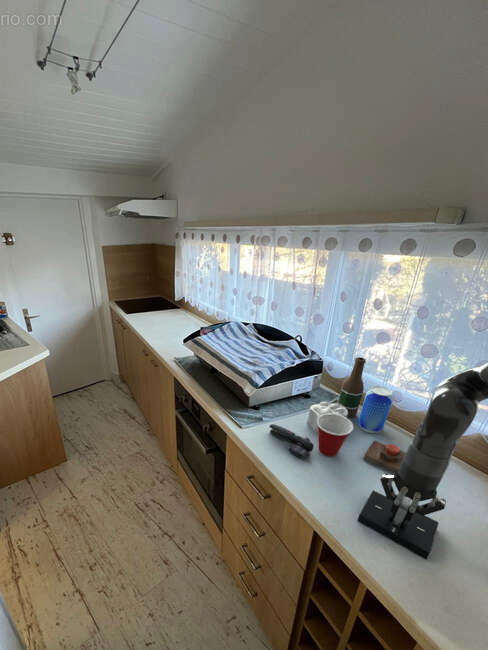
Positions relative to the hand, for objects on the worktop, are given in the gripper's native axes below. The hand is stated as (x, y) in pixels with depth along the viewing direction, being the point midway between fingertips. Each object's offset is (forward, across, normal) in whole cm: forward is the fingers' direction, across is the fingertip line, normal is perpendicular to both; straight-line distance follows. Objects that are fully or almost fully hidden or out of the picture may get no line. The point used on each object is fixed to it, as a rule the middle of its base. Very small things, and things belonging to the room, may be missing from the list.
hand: (399, 516), depth 76 cm
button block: (+3, -8, +25) cm, 27 cm away
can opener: (+4, -35, +11) cm, 37 cm away
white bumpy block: (+3, -30, +30) cm, 43 cm away
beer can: (+3, -18, +40) cm, 44 cm away
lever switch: (+3, 0, 0) cm, 3 cm away
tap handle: (+1, 0, 0) cm, 1 cm away
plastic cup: (+3, -24, +16) cm, 29 cm away
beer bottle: (+3, -28, +44) cm, 52 cm away
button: (0, -8, +25) cm, 26 cm away
